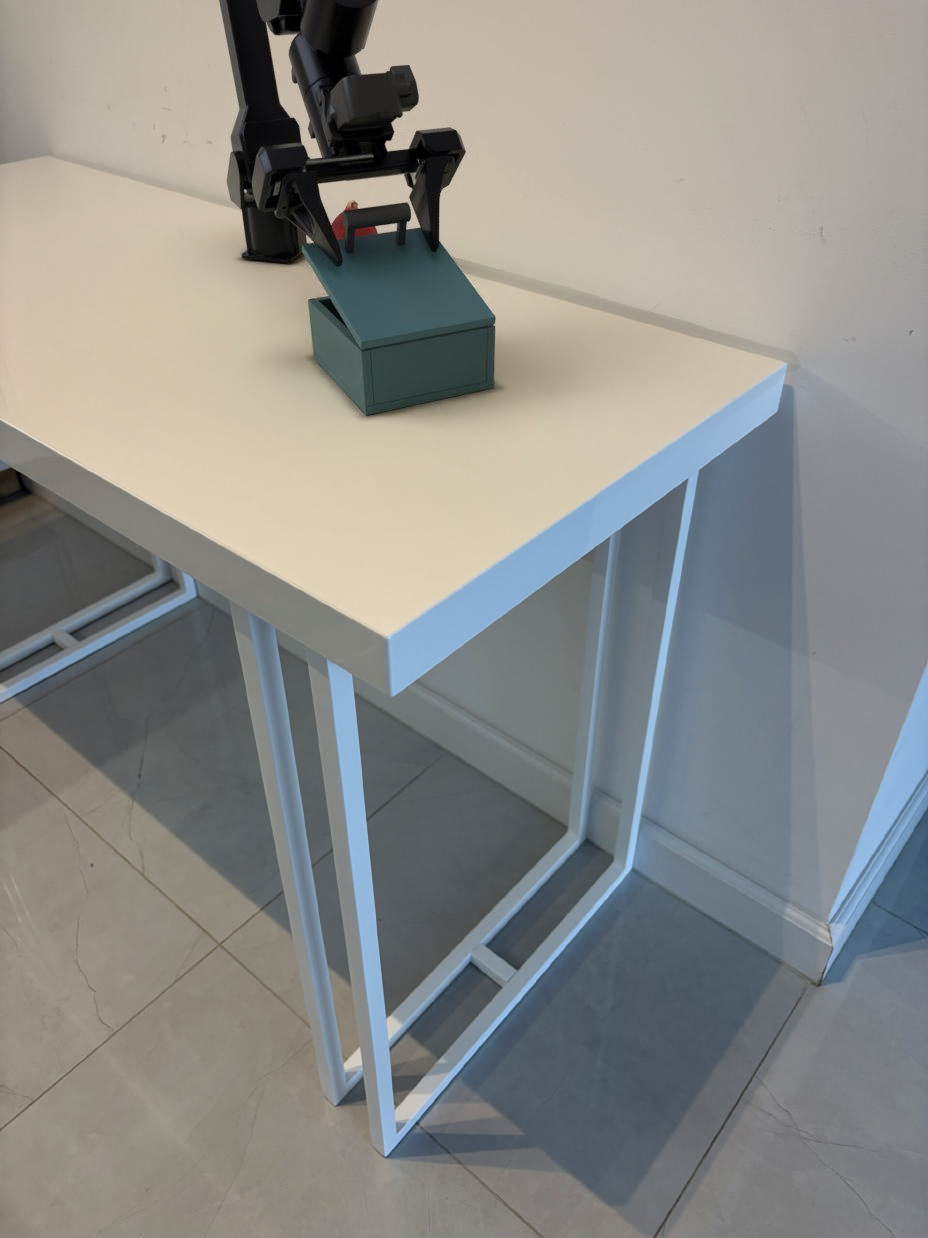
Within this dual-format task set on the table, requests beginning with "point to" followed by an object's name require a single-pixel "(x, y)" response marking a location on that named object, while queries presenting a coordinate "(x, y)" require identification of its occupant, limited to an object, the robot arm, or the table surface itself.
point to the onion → (340, 229)
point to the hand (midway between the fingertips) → (388, 256)
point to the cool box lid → (396, 282)
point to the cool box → (401, 363)
